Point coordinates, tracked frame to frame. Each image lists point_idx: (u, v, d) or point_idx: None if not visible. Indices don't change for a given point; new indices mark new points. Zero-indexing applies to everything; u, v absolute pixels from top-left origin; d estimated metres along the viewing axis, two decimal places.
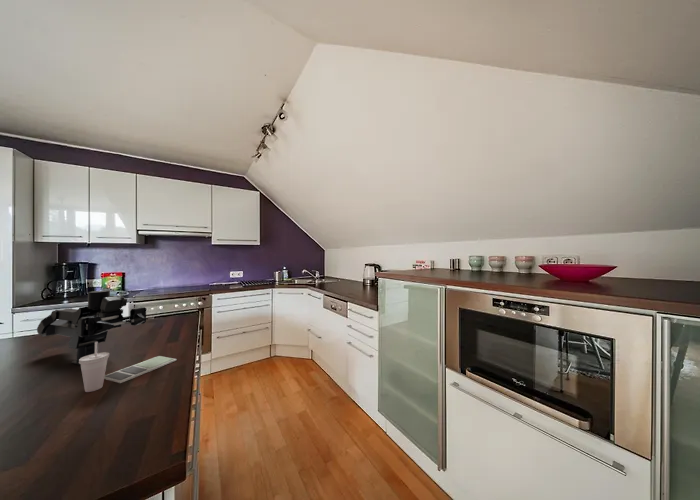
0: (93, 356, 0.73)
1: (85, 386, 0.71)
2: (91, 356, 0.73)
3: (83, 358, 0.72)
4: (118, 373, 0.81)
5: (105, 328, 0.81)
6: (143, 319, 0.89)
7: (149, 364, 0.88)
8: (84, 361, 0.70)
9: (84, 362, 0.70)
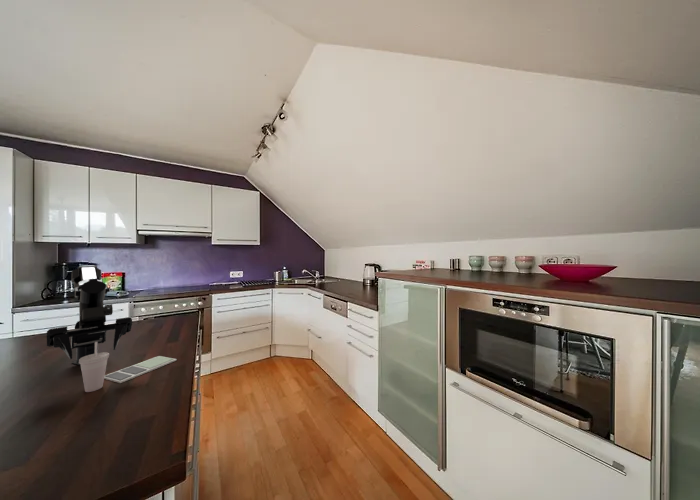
0: (93, 356, 0.73)
1: (85, 386, 0.71)
2: (91, 356, 0.73)
3: (83, 358, 0.72)
4: (118, 373, 0.81)
5: (66, 353, 0.72)
6: (113, 348, 0.78)
7: (149, 364, 0.88)
8: (84, 361, 0.70)
9: (84, 362, 0.70)
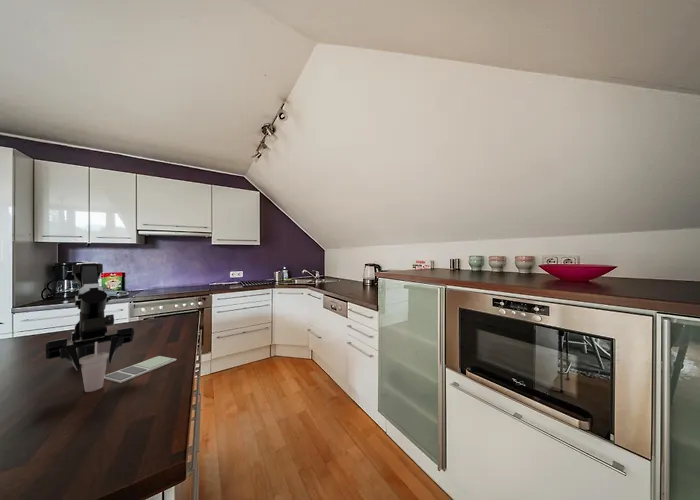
0: (93, 356, 0.73)
1: (85, 386, 0.71)
2: (91, 356, 0.73)
3: (83, 358, 0.72)
4: (118, 373, 0.81)
5: (73, 364, 0.71)
6: (109, 361, 0.75)
7: (149, 364, 0.88)
8: (84, 361, 0.70)
9: (84, 362, 0.70)
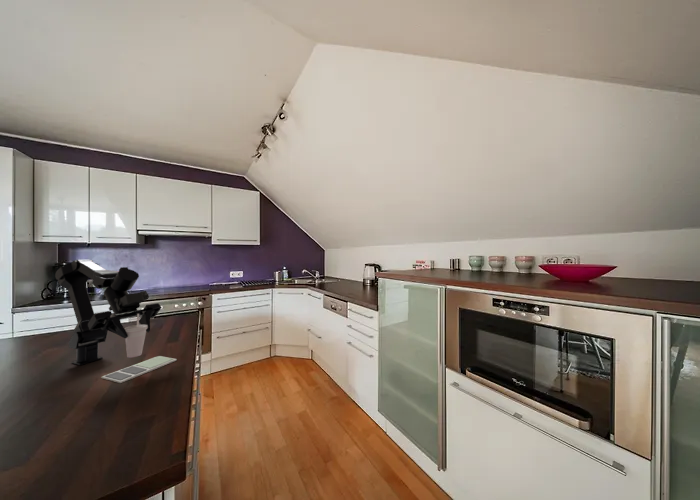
0: (135, 326, 0.83)
1: (130, 352, 0.81)
2: (133, 326, 0.82)
3: (127, 328, 0.81)
4: (118, 373, 0.81)
5: (119, 333, 0.79)
6: (147, 330, 0.85)
7: (149, 364, 0.88)
8: (132, 329, 0.80)
9: (132, 330, 0.80)
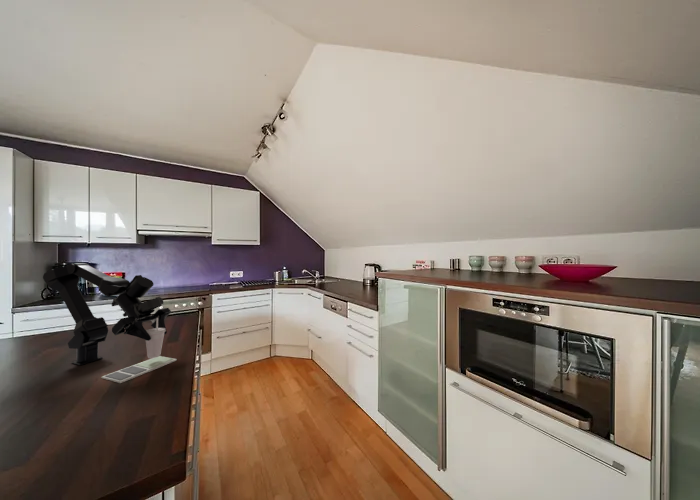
0: (155, 329, 0.90)
1: (152, 353, 0.88)
2: (153, 329, 0.90)
3: (148, 331, 0.88)
4: (118, 373, 0.81)
5: (142, 336, 0.86)
6: (164, 333, 0.93)
7: (149, 364, 0.88)
8: (155, 332, 0.88)
9: (155, 333, 0.88)
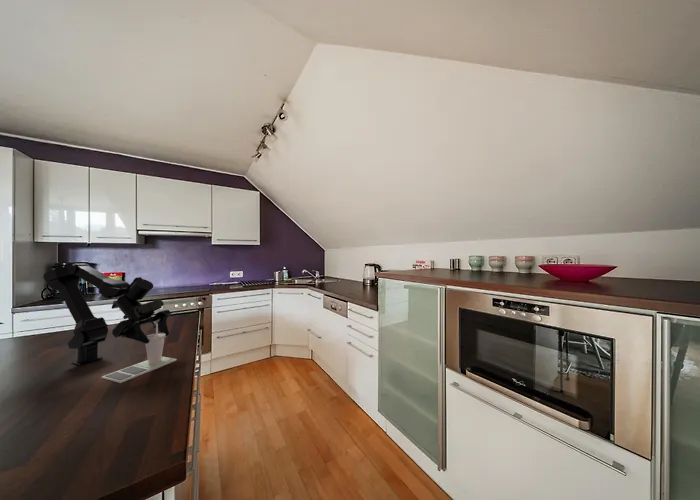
0: (155, 335, 0.90)
1: (152, 359, 0.88)
2: (153, 335, 0.89)
3: (148, 337, 0.88)
4: (118, 373, 0.81)
5: (140, 339, 0.85)
6: (167, 334, 0.94)
7: (149, 364, 0.88)
8: (155, 338, 0.88)
9: (155, 339, 0.88)
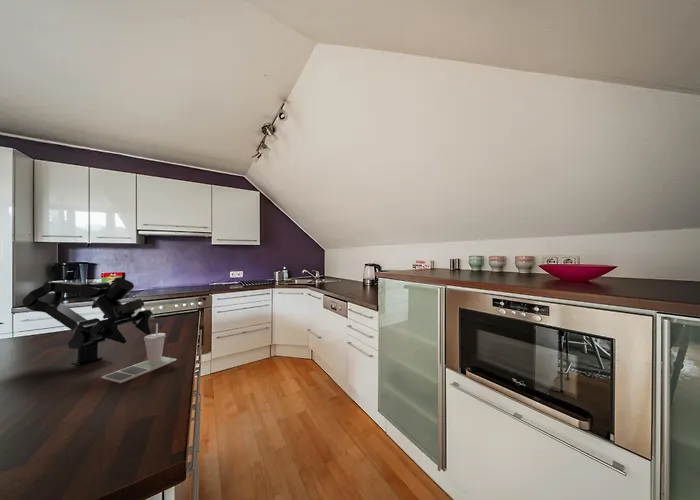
0: (155, 335, 0.90)
1: (152, 359, 0.88)
2: (153, 335, 0.89)
3: (148, 337, 0.88)
4: (118, 373, 0.81)
5: (117, 339, 0.86)
6: (148, 333, 0.95)
7: (149, 364, 0.88)
8: (155, 338, 0.88)
9: (155, 339, 0.88)
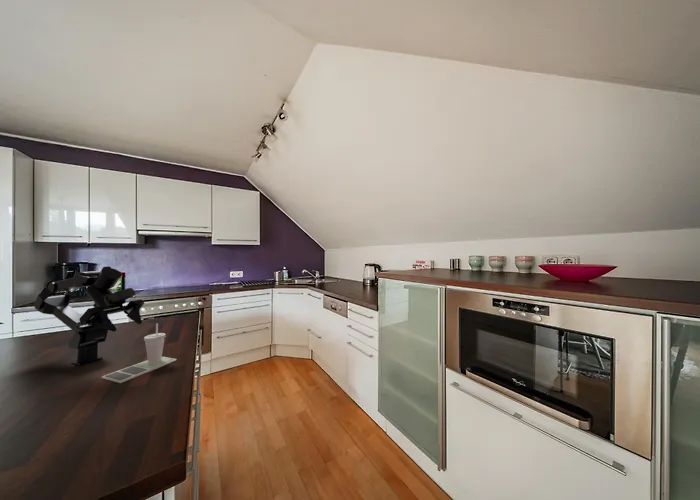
0: (155, 335, 0.90)
1: (152, 359, 0.88)
2: (153, 335, 0.89)
3: (148, 337, 0.88)
4: (118, 373, 0.81)
5: (107, 327, 0.85)
6: (139, 322, 0.95)
7: (149, 364, 0.88)
8: (155, 338, 0.88)
9: (155, 339, 0.88)
